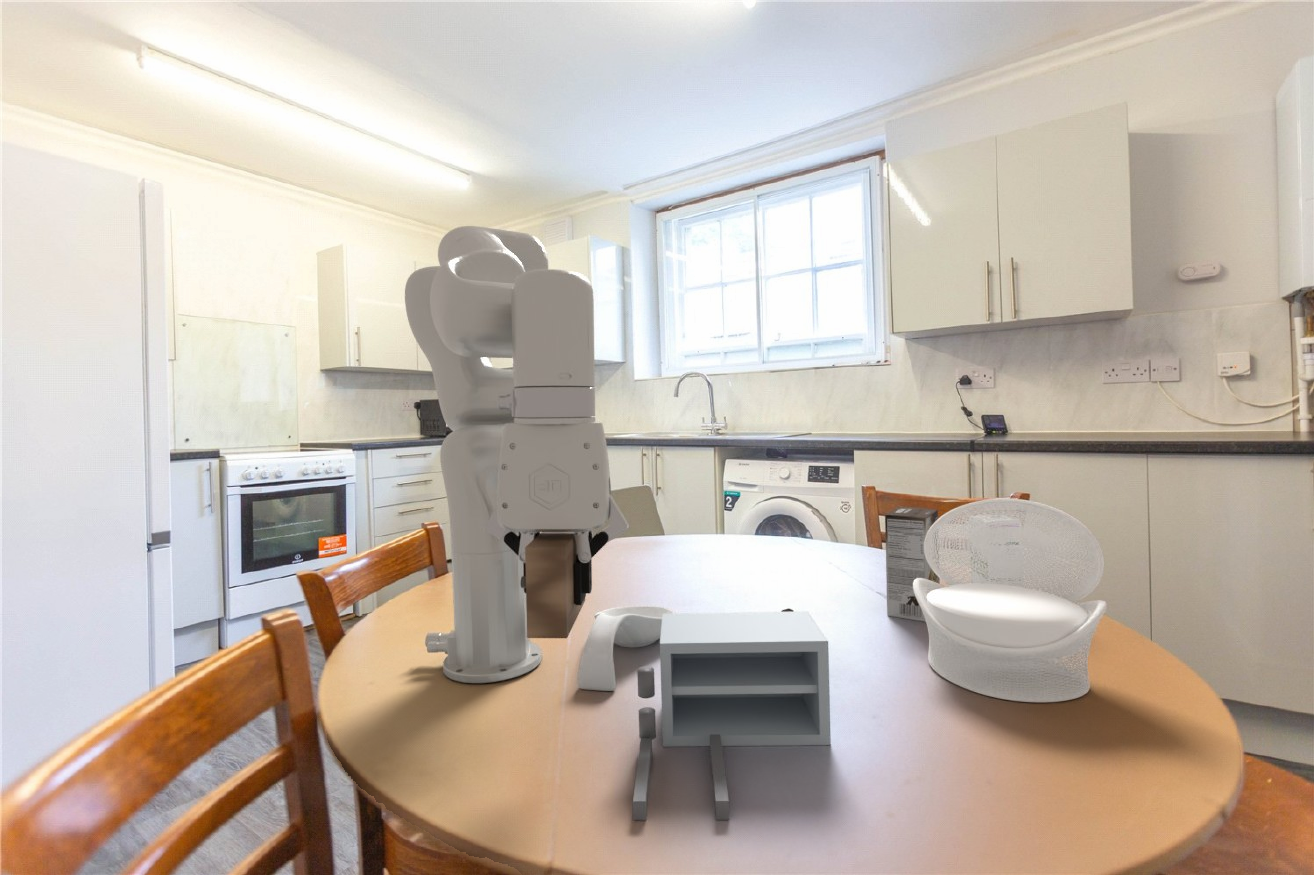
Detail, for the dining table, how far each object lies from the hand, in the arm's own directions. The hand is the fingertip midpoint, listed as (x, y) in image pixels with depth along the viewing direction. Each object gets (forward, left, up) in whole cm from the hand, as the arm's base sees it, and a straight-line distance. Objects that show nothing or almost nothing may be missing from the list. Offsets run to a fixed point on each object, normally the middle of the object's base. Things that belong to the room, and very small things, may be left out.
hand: (558, 598), depth 57 cm
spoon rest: (+4, +24, -15) cm, 29 cm away
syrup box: (+62, +42, -15) cm, 77 cm away
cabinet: (+16, 0, -15) cm, 22 cm away
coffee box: (+48, +40, -15) cm, 65 cm away
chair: (+50, +17, -15) cm, 55 cm away
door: (0, 0, -2) cm, 2 cm away
